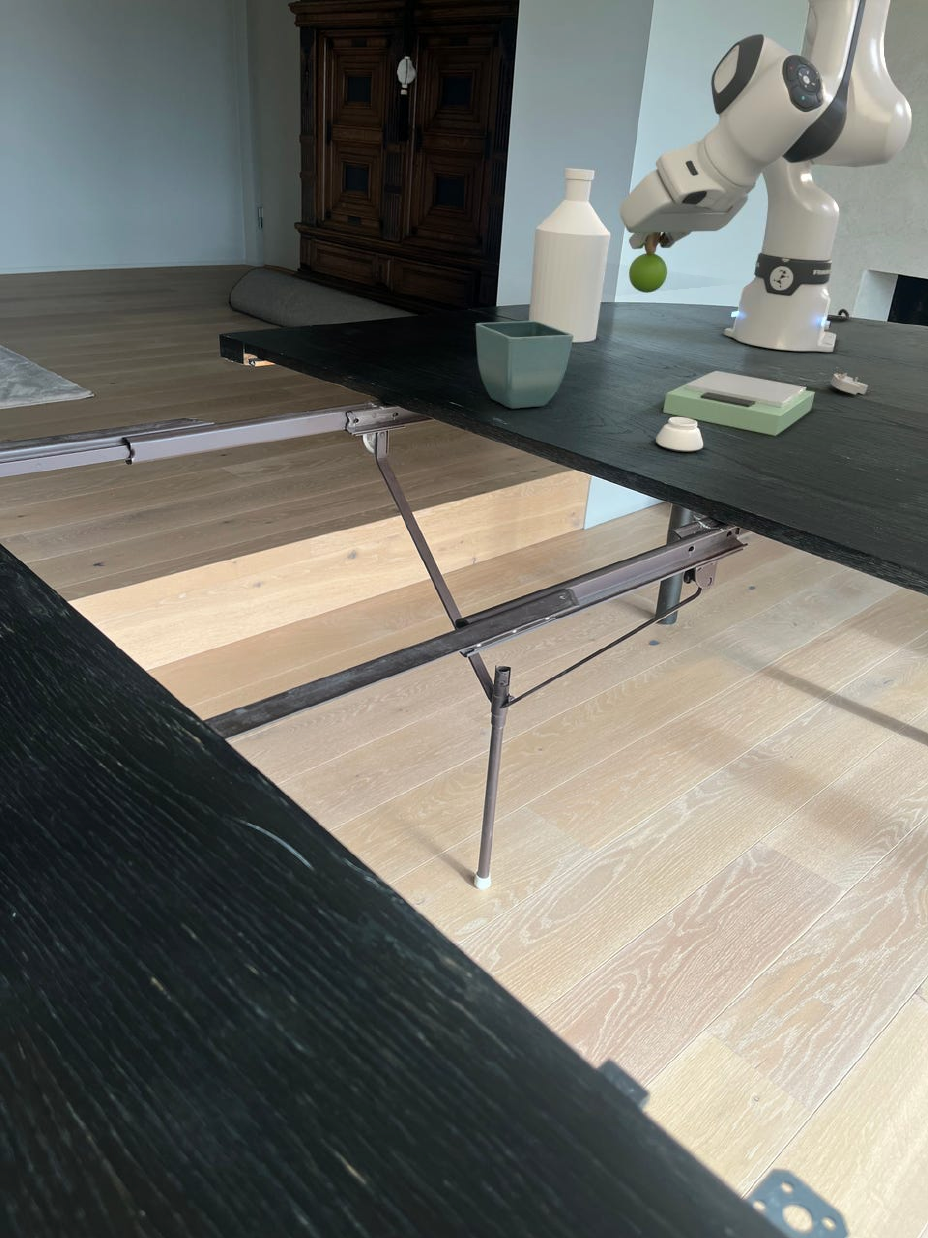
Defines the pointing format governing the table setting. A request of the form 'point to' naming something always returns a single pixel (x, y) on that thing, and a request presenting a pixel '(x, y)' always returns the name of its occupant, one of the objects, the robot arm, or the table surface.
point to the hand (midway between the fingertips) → (648, 244)
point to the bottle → (570, 262)
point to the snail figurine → (648, 267)
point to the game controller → (847, 384)
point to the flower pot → (522, 361)
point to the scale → (740, 402)
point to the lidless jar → (680, 435)
